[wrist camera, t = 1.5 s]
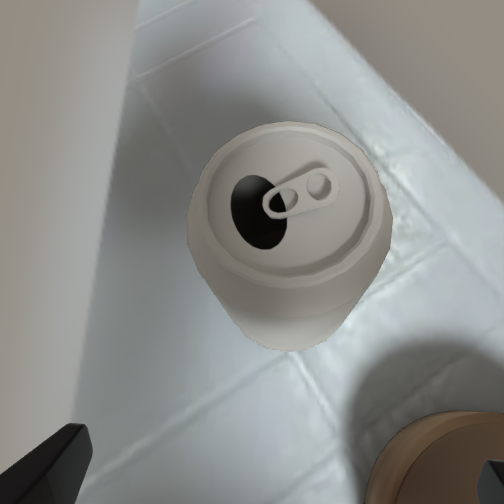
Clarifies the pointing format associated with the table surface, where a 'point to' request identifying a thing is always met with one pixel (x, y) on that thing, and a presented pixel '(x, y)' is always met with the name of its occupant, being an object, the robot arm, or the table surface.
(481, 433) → the brown wooden disc
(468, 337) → the table surface
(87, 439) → the robot arm
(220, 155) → the can
